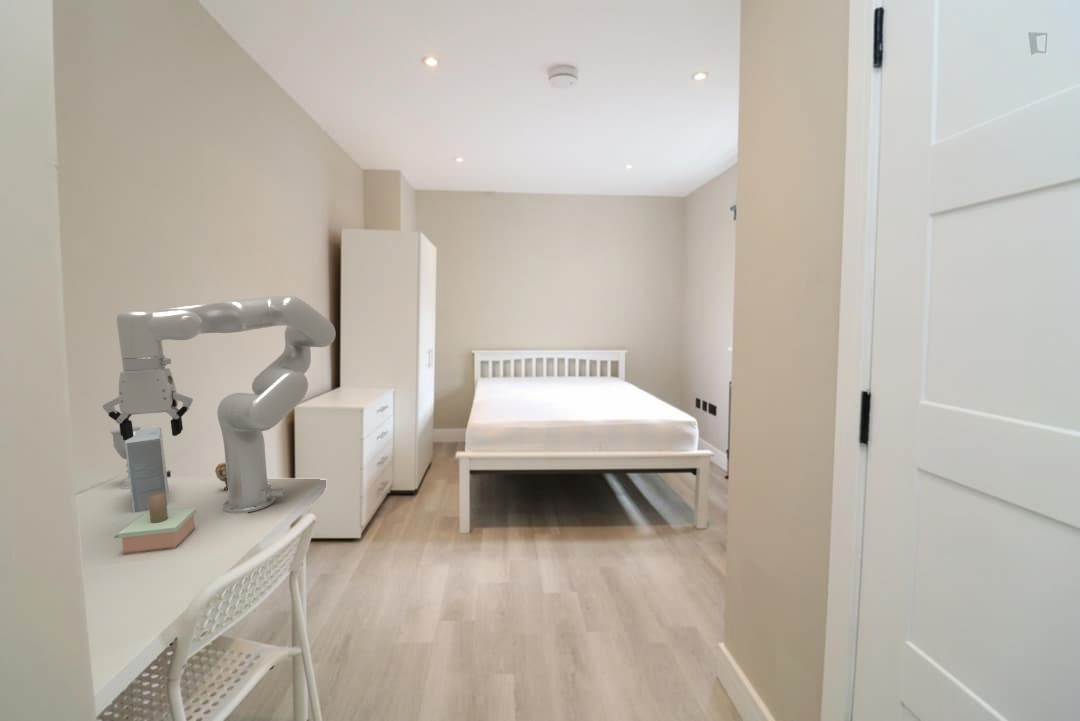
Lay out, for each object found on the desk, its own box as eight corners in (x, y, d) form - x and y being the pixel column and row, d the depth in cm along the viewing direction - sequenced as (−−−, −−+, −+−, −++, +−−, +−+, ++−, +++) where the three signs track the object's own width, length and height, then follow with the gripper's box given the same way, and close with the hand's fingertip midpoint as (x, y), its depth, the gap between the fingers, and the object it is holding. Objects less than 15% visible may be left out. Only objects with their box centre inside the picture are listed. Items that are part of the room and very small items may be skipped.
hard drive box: (136, 497, 143) (128, 430, 140) (168, 491, 147) (162, 426, 145) (132, 514, 130) (124, 442, 128) (168, 507, 135) (161, 437, 133)
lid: (196, 512, 121) (194, 484, 120) (175, 531, 110) (172, 502, 109) (144, 517, 118) (141, 489, 117) (118, 537, 107) (114, 507, 107)
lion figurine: (225, 495, 144) (223, 465, 143) (212, 493, 145) (209, 464, 144) (266, 478, 157) (264, 451, 156) (253, 476, 159) (251, 450, 158)
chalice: (120, 491, 147) (114, 433, 145) (112, 487, 151) (106, 430, 149) (150, 484, 153) (144, 428, 151) (141, 480, 157) (136, 425, 155)
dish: (194, 530, 121) (193, 513, 120) (175, 549, 111) (173, 531, 110) (147, 535, 118) (146, 517, 118) (124, 555, 108) (122, 536, 108)
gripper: (193, 360, 118) (201, 429, 120) (107, 364, 113) (117, 436, 116) (180, 364, 111) (189, 437, 113) (88, 369, 106) (99, 444, 108)
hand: (153, 436), depth 114 cm, fingers open, 9 cm apart
